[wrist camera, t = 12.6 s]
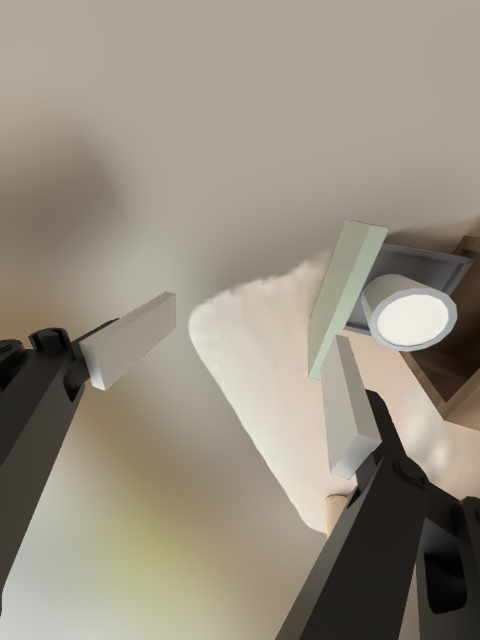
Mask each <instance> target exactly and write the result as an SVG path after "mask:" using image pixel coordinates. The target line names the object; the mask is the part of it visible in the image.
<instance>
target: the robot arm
mask: <svg viewBox="0 0 480 640" xmlns="http://www.w3.org/2000/svg"><path fill="white" fill-rule="evenodd" d="M175 328H176V298H175V294H173V293H169V292H165V293H163V294H161V295H159V296H158V297H156V298H154V299H152V300H151V301H149V302H147V303H146V304H144V305H142V306H141V307H139V308H137V309H135V310H134V311H132V312H130V313H128V314H127V315H125V316H123V317H122V318H118V319H114V320H111V321H108V322H106V323H104V324H103V325H101V326H100V327H97V328H96V329H94V331H90V332H89V333H87V334H85V335H83V336H82V337H80V338H78V339H76V340H75V341H72V342H71V343H70V340H69V337H68V334H67V332H66V330H65V329H62V328H47V329H43V330H39V331H37V332H35V333H32V334H31V335H30V336H28V338H29V340H30V342H31V344H32V346H33V348H34V349H25V348H24V346H23V344H22V342H21V341H19V340H14V339H11V340H1V341H0V616H1V611H2V592H3V588H4V585H5V582H6V579H7V577H8V575H9V572H10V570H11V567H12V564H13V562H14V560H15V557H16V555H17V553H18V550H19V548H20V545H21V543H22V540H23V538H24V536H25V533H26V531H27V528H28V526H29V523H30V521H31V519H32V516H33V514H34V511H35V509H36V506H37V504H38V502H39V499H40V497H41V494H42V492H43V489H44V487H45V484H46V482H47V479H48V477H49V475H50V472H51V470H52V467H53V465H54V462H55V460H56V458H57V455H58V453H59V450H60V448H61V446H62V443H63V441H64V438H65V436H66V433H67V431H68V429H69V426H70V424H71V421H72V419H73V416H74V414H75V412H76V409H77V407H78V404H79V402H80V399H81V397H82V394H83V392H84V389H85V383H84V382H85V381H86V380H88V379H89V378H90V379H91V382H92V385H93V386H94V387H97V388H99V389H102V390H105V391H106V390H107V389H108V388H109V387H110V386H111V385H112V384H113V383H114V382H116V381H117V380H118V379H119V378H120V377H121V376H122V375H123V374H125V373H126V372H127V371H128V370H129V369H130V368H131V367H132V366H133V365H134V364H136V363H137V362H138V361H139V360H140V359H141V358H142V357H143V356H145V354H147V353H148V352H149V351H150V350H151V349H152V348H153V347H155V346H156V345H157V344H158V343H159V342H160V341H161V340H162V339H163V338H165V337H166V336H167V335H168V334H169V333H170V332H171V331H172V330H173V329H175ZM320 369H321V380H322V391H323V402H324V413H325V424H326V435H327V446H328V457H329V468H330V473H332V474H334V475H337V476H340V477H343V478H345V479H348V480H350V479H351V478H352V476H353V475H354V474H355V473H356V478H357V483H358V485H357V486H356V488H355V489H354V490H353V491H352V492H351V493H350V494H349V495H348V496H347V497H346V498H347V499H348V502H347V504H346V505H345V507H344V509H343V511H342V513H341V515H340V517H339V519H338V521H337V523H336V524H335V526H334V528H333V530H332V532H331V534H330V536H329V538H328V540H327V542H326V543H325V545H324V547H323V549H322V551H321V553H320V555H319V557H318V559H317V561H316V562H315V564H314V566H313V568H312V570H311V572H310V574H309V576H308V578H307V580H306V581H305V583H304V585H303V587H302V589H301V591H300V593H299V595H298V597H297V599H296V600H295V602H294V604H293V606H292V608H291V610H290V612H289V614H288V616H287V618H286V619H285V621H284V623H283V625H282V627H281V629H280V631H279V633H278V635H277V637H276V639H275V640H398V638H399V634H400V628H401V624H402V620H403V616H404V611H405V606H406V602H407V597H408V593H409V588H410V584H411V579H412V575H413V570H414V565H415V561H416V577H417V592H418V593H417V595H418V612H419V628H420V629H419V630H420V640H480V499H479V498H476V497H470V496H467V497H466V498H464V499H462V500H461V501H460V500H458V499H456V498H455V497H453V496H451V495H450V494H448V493H447V492H445V491H443V490H442V489H440V488H438V487H437V486H435V485H434V484H432V483H431V482H429V480H428V478H427V476H426V474H425V473H424V471H423V470H422V469H421V468H420V466H419V465H418V464H416V463H415V462H414V461H413V460H412V459H411V458H409V457H407V455H406V453H405V450H404V448H403V446H402V443H401V441H400V438H399V436H398V433H397V431H396V428H395V426H394V424H393V422H392V419H391V416H390V414H389V411H388V409H387V406H386V404H385V402H384V401H383V399H382V398H381V397H380V396H379V395H378V393H377V392H374V391H370V390H367V389H365V388H364V385H363V382H362V379H361V376H360V373H359V370H358V367H357V364H356V360H355V357H354V354H353V351H352V348H351V345H350V342H349V339H348V338H347V337H343V336H339V335H335V336H334V338H333V340H332V343H331V345H330V347H329V349H328V352H327V354H326V356H325V358H324V361H323V363H322V365H321V367H320Z"/></svg>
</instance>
